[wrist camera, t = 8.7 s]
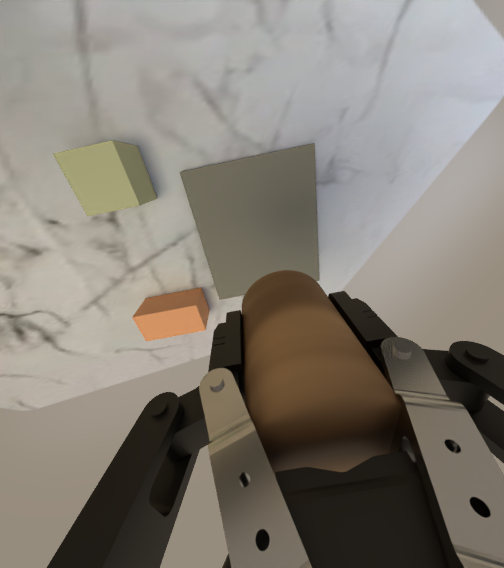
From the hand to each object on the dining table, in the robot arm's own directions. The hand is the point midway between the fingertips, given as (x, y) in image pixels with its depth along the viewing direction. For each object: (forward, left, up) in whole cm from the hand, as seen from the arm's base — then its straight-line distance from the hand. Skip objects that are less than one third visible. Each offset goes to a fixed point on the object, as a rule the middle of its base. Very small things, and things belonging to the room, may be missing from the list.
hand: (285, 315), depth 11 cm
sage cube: (-9, -13, -17) cm, 23 cm away
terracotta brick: (+8, -13, -17) cm, 23 cm away
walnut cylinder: (0, 0, -1) cm, 1 cm away
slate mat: (0, 0, -17) cm, 17 cm away
